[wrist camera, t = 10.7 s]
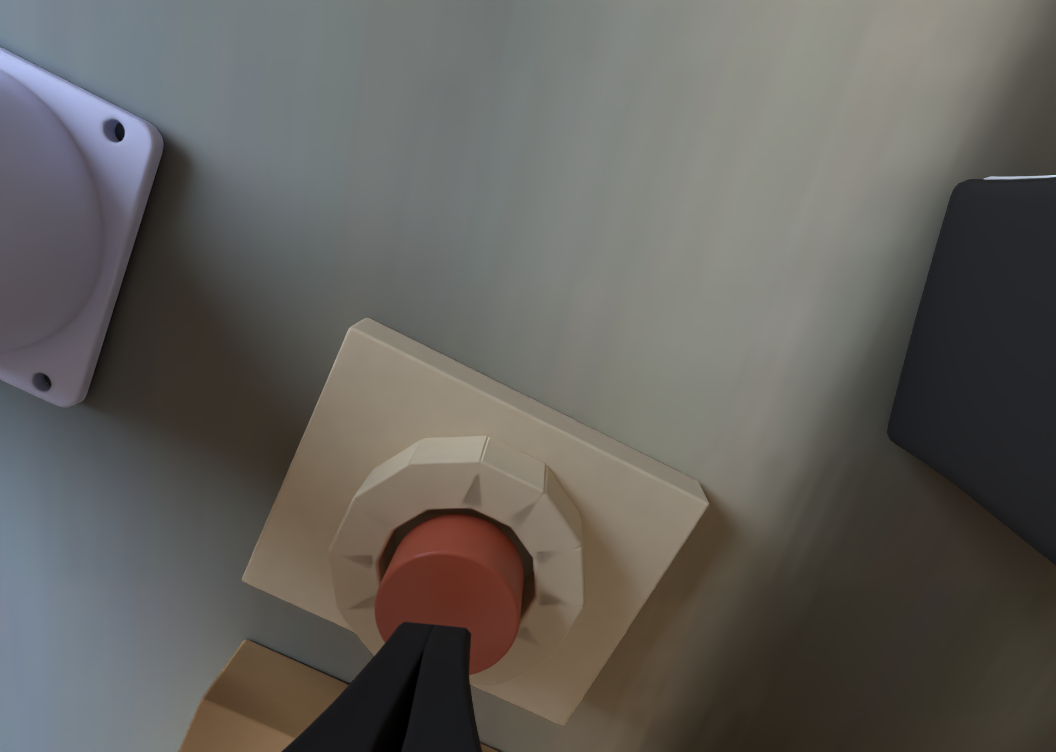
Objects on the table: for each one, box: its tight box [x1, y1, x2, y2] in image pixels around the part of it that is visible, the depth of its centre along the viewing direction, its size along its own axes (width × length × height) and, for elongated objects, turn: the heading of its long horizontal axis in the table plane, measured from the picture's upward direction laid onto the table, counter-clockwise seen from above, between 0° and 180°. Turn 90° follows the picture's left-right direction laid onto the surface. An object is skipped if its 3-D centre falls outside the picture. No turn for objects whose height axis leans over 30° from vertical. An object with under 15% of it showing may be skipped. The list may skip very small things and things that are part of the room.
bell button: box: [374, 514, 524, 675], centre depth 14 cm, size 3×3×2 cm
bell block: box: [242, 318, 709, 726], centre depth 16 cm, size 10×8×3 cm
